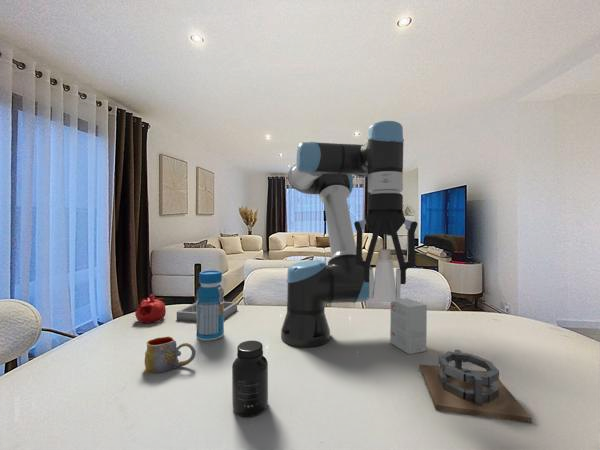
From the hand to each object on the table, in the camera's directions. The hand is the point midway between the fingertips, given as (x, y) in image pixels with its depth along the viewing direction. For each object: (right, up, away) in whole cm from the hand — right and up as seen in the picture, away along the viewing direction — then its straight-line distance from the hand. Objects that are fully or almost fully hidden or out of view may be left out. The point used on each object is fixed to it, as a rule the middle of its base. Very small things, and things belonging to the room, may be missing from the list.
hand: (384, 297), depth 64 cm
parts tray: (-54, -18, +45) cm, 72 cm away
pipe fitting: (-55, -17, +46) cm, 74 cm away
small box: (+12, -19, +19) cm, 29 cm away
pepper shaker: (0, -1, 0) cm, 1 cm away
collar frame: (+17, -19, -3) cm, 26 cm away
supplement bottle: (-28, -19, -8) cm, 35 cm away
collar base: (+17, -19, -3) cm, 26 cm away
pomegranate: (-72, -18, +39) cm, 84 cm away
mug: (-50, -19, +6) cm, 54 cm away
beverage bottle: (-47, -19, +25) cm, 56 cm away
